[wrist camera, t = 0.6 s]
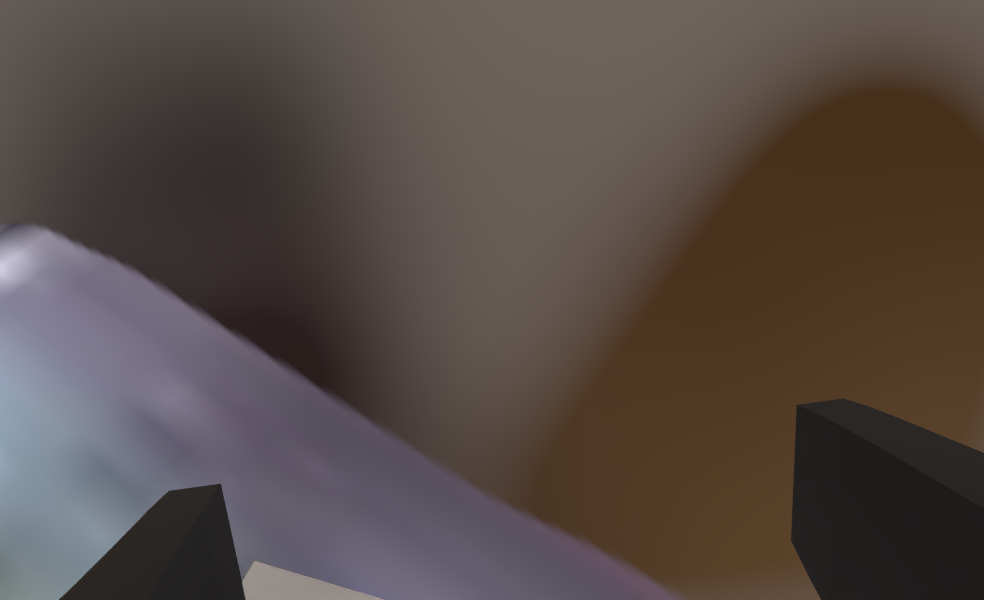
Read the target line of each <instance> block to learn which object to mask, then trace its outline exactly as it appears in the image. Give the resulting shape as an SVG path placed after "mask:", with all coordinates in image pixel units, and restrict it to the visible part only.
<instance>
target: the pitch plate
mask: <svg viewBox="0 0 984 600" xmlns="http://www.w3.org/2000/svg"><path fill="white" fill-rule="evenodd" d="M242 585H243V589H244V594H245V599H246V600H384V599H381V598H377V597H374V596H371V595H367V594H364V593H361V592H357V591H354V590H351V589H347V588H344V587H341V586H337V585H334V584H331V583H327V582H324V581H321V580H317V579H314V578H311V577H307V576H304V575H300V574H297V573H294V572H290V571H287V570H284V569H280V568H277V567H274V566H270V565H267V564H264V563H260V562H257V561H254V562H253V564H252V565H251V567H250V569H249V571H248V572H247V574H246V576H245V578H244V579H243V581H242Z"/></svg>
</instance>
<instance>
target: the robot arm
mask: <svg viewBox="0 0 984 600" xmlns="http://www.w3.org/2000/svg"><path fill="white" fill-rule="evenodd" d="M796 413H797V414H796V436H795V462H794V485H793V509H792V534H791V541H792V543H793V545H794V547H795V549H796V551H797V554H798V556H799V558H800V560H801V561H802V564H803V566H804V568H805V570H806V572H807V574H808V576H809V578H810V580H811V582H812V583H813V585H814V587H815V589H816V591H817V593H818V595H819V596H820V598H821V600H984V453H983V452H980V451H978V450H975V449H973V448H970V447H968V446H965V445H963V444H960V443H958V442H956V441H953V440H951V439H948V438H946V437H943V436H941V435H938V434H936V433H934V432H931V431H929V430H926V429H924V428H922V427H919V426H916V425H914V424H912V423H909V422H907V421H904V420H902V419H899V418H897V417H894V416H892V415H889V414H887V413H884V412H882V411H879V410H876V409H874V408H871V407H868V406H865V405H862V404H859V403H856V402H853V401H849V400H846V399H837V400H830V401H823V402H815V403H808V404H801V405H797V412H796ZM59 600H246V599H245V594H244V589H243V585H242V580H241V575H240V571H239V566H238V562H237V557H236V552H235V548H234V543H233V538H232V534H231V529H230V524H229V520H228V515H227V510H226V506H225V501H224V497H223V492H222V487H221V484H216V485H209V486H202V487H194V488H187V489H180V490H172V491H169V492H167V493H166V494H165V495H164V496H163V497H162V498H161V499H160V500H159V501H158V502H157V503H156V504H155V505H153V506H152V507H151V508H150V509H149V510H148V511H147V512H146V514H145V515H144V516H143V517H142V518H141V519H140V520H139V521H138V522H137V523H136V524H135V525H134V526H133V527H132V528H131V529H130V530H129V531H128V532H127V533H126V534H125V535H124V536H123V537H122V538H121V539H120V540H119V541H118V542H117V543H116V544H115V545H114V546H113V547H112V548H111V549H110V550H109V551H108V552H107V553H106V554H105V555H104V556H103V557H102V558H101V559H100V560H99V561H98V562H97V563H96V564H95V565H94V566H93V567H92V568H91V569H90V570H89V571H88V572H87V573H86V574H85V575H84V576H83V577H82V578H81V579H80V580H79V581H78V582H77V583H76V584H75V585H74V586H73V587H72V588H71V589H70V590H69V591H68V592H67V593H66V594H65V595H63V596H62V597H61V598H60V599H59Z"/></svg>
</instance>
